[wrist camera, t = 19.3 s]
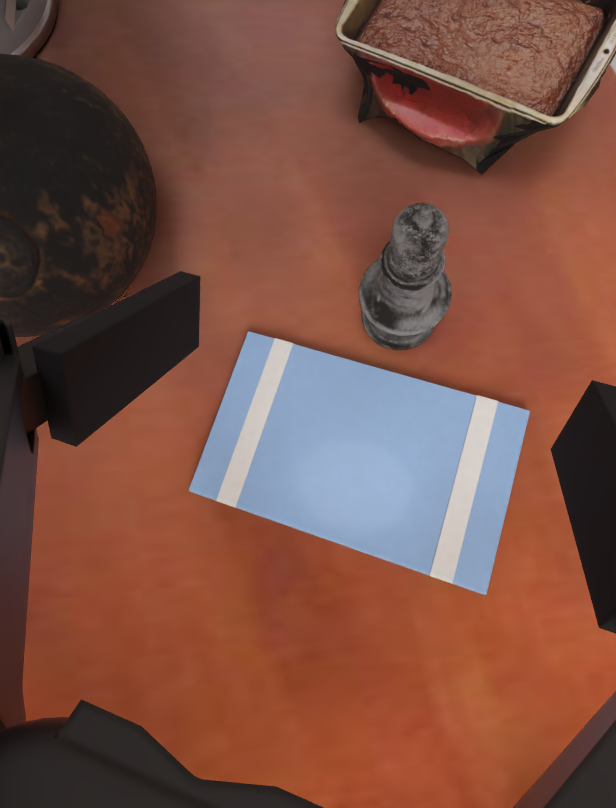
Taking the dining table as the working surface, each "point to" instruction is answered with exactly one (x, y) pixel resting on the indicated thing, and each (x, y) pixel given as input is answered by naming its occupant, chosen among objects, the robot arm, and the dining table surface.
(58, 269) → the glass bottle
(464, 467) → the cloth
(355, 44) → the baking dish
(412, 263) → the salt shaker
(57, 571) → the dining table surface
